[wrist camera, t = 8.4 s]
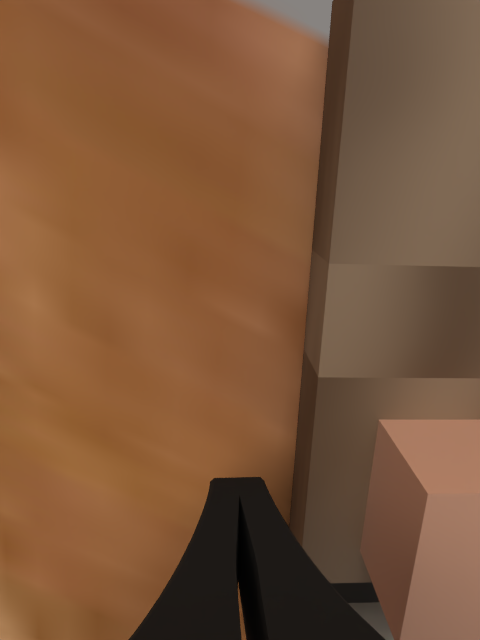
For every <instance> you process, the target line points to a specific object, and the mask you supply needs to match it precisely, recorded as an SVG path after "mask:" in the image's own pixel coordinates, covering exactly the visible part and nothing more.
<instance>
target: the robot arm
mask: <svg viewBox="0 0 480 640" xmlns="http://www.w3.org/2000/svg"><path fill="white" fill-rule="evenodd" d="M238 582H239V590H240V597H241V604H242V611H243V618H244V625H245V632H246V639H247V640H386V639H384V638H383V637H382V636H381V635H380V634H379V633H378V632H377V631H376V630H375V629H374V628H373V627H372V626H371V625H370V624H369V623H368V622H367V621H366V620H365V619H363V618H362V617H361V616H360V615H359V614H358V613H357V612H356V611H355V610H354V609H353V608H352V607H351V606H350V605H349V603H348V602H347V601H346V600H345V599H344V598H343V597H342V596H341V595H340V594H339V593H338V592H337V590H336V589H335V588H334V587H333V586H332V585H331V584H330V582H329V581H328V580H327V579H326V578H325V577H324V575H323V574H322V573H321V572H320V570H319V569H318V568H317V567H316V565H315V564H314V563H313V561H312V560H311V559H310V557H309V556H308V555H307V553H306V552H305V550H304V549H303V548H302V546H301V545H300V543H299V542H298V541H297V539H296V538H295V536H294V534H293V533H292V531H291V530H290V528H289V527H288V525H287V524H286V522H285V520H284V519H283V517H282V515H281V514H280V512H279V510H278V508H277V507H276V505H275V503H274V501H273V499H272V497H271V495H270V493H269V491H268V489H267V487H266V485H265V482H264V480H263V479H262V478H261V477H242V478H214V479H213V480H212V481H211V482H210V487H209V492H208V496H207V500H206V503H205V506H204V509H203V512H202V515H201V517H200V520H199V522H198V524H197V527H196V529H195V532H194V534H193V536H192V539H191V541H190V543H189V545H188V547H187V549H186V551H185V553H184V555H183V557H182V559H181V561H180V563H179V565H178V566H177V568H176V570H175V572H174V574H173V575H172V577H171V579H170V580H169V582H168V584H167V585H166V587H165V589H164V590H163V592H162V593H161V595H160V597H159V598H158V600H157V601H156V603H155V604H154V606H153V607H152V608H151V610H150V611H149V613H148V614H147V616H146V617H145V619H144V620H143V622H142V623H141V624H140V626H139V627H138V628H137V630H136V631H135V632H134V634H133V635H132V636H131V637H130V639H129V640H241V629H240V616H239V604H238V591H237V590H238Z"/></svg>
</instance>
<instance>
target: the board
mask: <svg viewBox="0 0 480 640" xmlns="http://www.w3.org/2000/svg"><path fill="white" fill-rule="evenodd" d="M379 420H480V0H333V2H332V13H331V25H330V38H329V50H328V62H327V74H326V86H325V98H324V111H323V123H322V135H321V147H320V159H319V171H318V184H317V196H316V208H315V220H314V232H313V244H312V256H311V269H310V281H309V293H308V305H307V317H306V329H305V342H304V354H303V366H302V378H301V390H300V402H299V415H298V427H297V439H296V451H295V463H294V475H293V488H292V500H291V512H290V524H289V528H290V530H291V531H292V533H293V534H294V536H295V538H296V539H297V541H298V542H299V543H300V545H301V546H302V548H303V549H304V550H305V552H306V553H307V555H308V556H309V557H310V559H311V560H312V561H313V563H314V564H315V565H316V567H317V568H318V569H319V570H320V572H321V573H322V574H323V575H324V577H325V578H326V579H327V580H328V581H329V582H330V584H331V585H332V586H333V587H334V588H335V589H336V590H337V592H338V593H339V594H340V595H341V596H342V597H343V598H344V599H345V600H346V601H347V602H348V603H349V605H350V606H351V607H352V608H353V609H354V610H355V611H356V612H357V613H358V614H359V615H360V616H361V617H362V618H363V619H365V620H366V621H367V622H368V623H369V624H370V625H371V626H372V627H373V628H374V629H375V630H376V631H377V632H378V633H379V634H380V635H381V636H382V637H383V638H384V639H386V640H394V638H393V636H392V633H391V631H390V628H389V625H388V623H387V620H386V618H385V615H384V612H383V610H382V607H381V605H380V602H379V599H378V597H377V594H376V592H375V589H374V586H373V584H372V581H371V578H370V576H369V573H368V571H367V568H366V565H365V563H364V560H363V558H362V555H361V552H360V546H361V540H362V533H363V526H364V519H365V512H366V505H367V498H368V491H369V484H370V477H371V470H372V464H373V457H374V450H375V443H376V436H377V429H378V422H379Z"/></svg>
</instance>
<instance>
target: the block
mask: <svg viewBox="0 0 480 640" xmlns="http://www.w3.org/2000/svg"><path fill="white" fill-rule="evenodd" d="M360 552H361V555H362V558H363V560H364V563H365V565H366V568H367V571H368V573H369V576H370V578H371V581H372V584H373V586H374V589H375V592H376V594H377V597H378V599H379V602H380V605H381V607H382V610H383V612H384V615H385V618H386V620H387V623H388V625H389V628H390V631H391V633H392V636H393V638H394V640H480V420H379V422H378V429H377V436H376V443H375V450H374V457H373V464H372V470H371V477H370V484H369V491H368V498H367V505H366V512H365V519H364V526H363V533H362V540H361V546H360Z"/></svg>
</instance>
